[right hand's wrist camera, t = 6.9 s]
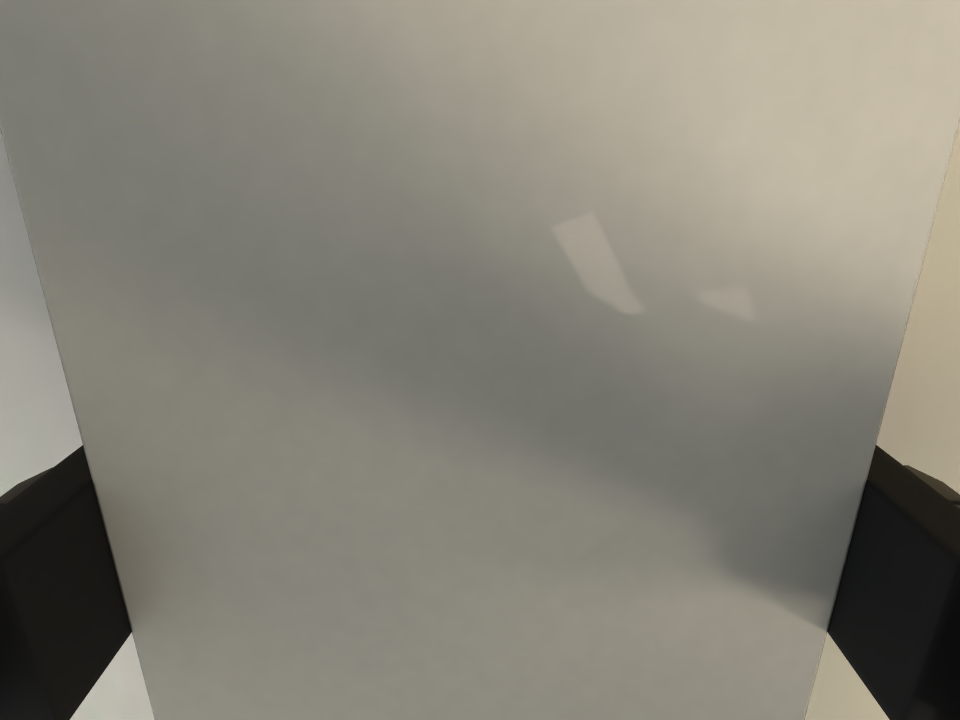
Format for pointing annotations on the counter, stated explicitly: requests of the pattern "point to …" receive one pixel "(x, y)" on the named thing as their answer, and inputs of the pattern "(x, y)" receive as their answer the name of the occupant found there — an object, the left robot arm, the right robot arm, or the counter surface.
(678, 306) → the cabinet
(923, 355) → the counter surface
